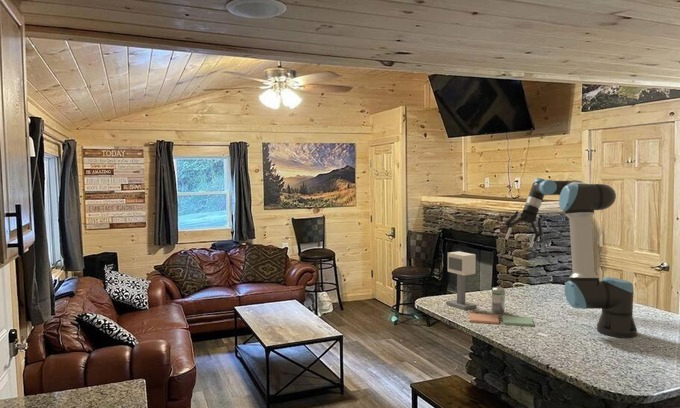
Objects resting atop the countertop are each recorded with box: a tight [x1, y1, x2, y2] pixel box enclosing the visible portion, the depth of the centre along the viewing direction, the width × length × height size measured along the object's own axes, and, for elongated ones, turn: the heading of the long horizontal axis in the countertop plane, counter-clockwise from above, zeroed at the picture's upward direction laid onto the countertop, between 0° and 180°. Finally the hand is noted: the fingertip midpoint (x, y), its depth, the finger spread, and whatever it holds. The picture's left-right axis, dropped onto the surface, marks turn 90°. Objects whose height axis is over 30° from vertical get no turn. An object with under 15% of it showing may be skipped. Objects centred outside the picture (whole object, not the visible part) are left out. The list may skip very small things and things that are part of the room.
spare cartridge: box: [491, 286, 506, 315], centre depth 246 cm, size 6×6×12 cm
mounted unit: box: [445, 251, 478, 311], centre depth 258 cm, size 9×13×28 cm
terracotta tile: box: [469, 312, 500, 325], centre depth 235 cm, size 11×13×1 cm
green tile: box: [501, 314, 535, 327], centre depth 231 cm, size 11×13×1 cm
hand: (518, 243), depth 267 cm, fingers open, 13 cm apart
